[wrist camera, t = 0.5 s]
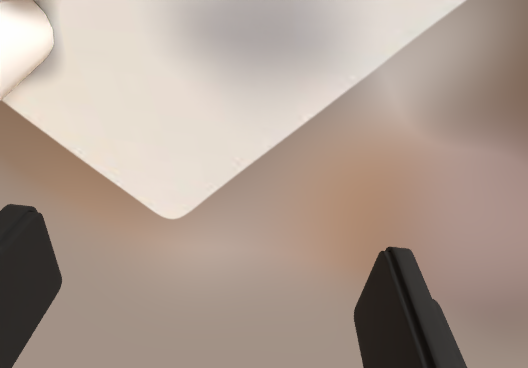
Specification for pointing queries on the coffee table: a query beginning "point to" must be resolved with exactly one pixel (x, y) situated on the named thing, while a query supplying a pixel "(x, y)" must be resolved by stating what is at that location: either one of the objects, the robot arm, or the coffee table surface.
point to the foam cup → (22, 41)
